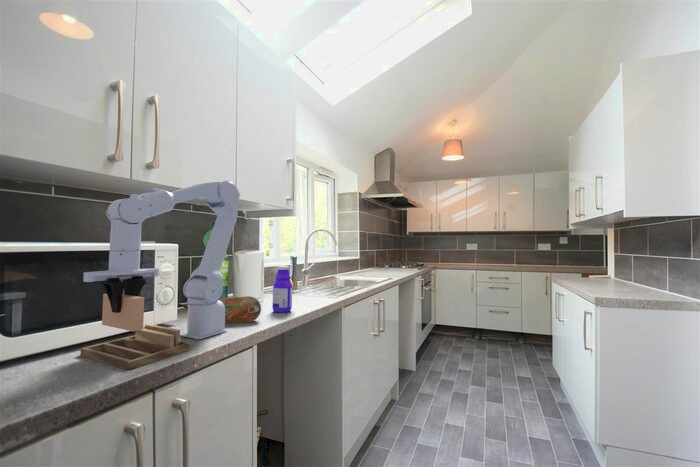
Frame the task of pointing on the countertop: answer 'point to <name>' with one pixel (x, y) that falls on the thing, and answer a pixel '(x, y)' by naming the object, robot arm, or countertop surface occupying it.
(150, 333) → the offcuts
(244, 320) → the tin
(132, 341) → the rack
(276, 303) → the bottle
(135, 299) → the block
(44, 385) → the countertop surface
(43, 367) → the countertop surface
